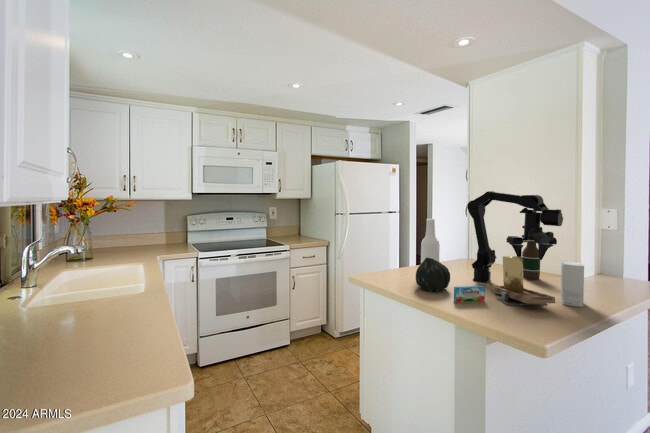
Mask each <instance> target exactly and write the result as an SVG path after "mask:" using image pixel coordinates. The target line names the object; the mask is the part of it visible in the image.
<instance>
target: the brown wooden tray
mask: <svg viewBox="0 0 650 433" xmlns="http://www.w3.org/2000/svg"><path fill="white" fill-rule="evenodd" d="M491 287H492V292H494V293H496V294H499V295H502V292H506V293H508V297H510V298H513V299H515V300H518V301H521V302H524V303H526V304H544V303H547V304H556V297H555V296H553V295H550V294H546V293H542V292H539V291H535V290H532V289H528V288H525V287H524V292H523V293H515V292H512V291H509V290H505V289H504V285H492V286H491Z"/></svg>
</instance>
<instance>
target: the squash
mask: <svg viewBox="0 0 650 433" xmlns="http://www.w3.org/2000/svg"><path fill="white" fill-rule="evenodd" d="M450 281H451V273H450V270H449V269H448V267H447V266H446V265H444V264H443V263H442V262H440V261H439V262H438V261H436V260H434V259H432V258H426V259H425V260H424V261H423V262H422V264H421V263H420V265H418V267H417V269H416V272H415V282H416V284H417V286H418V287H420V289H422V290H425V291H429V292H434V291H435V292H437V293H439V292H441V291H442V290H444V289H447V288H448V287H449V284H450V283H451V282H450Z"/></svg>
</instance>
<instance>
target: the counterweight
mask: <svg viewBox="0 0 650 433" xmlns="http://www.w3.org/2000/svg"><path fill="white" fill-rule="evenodd" d="M502 271H503V272H502V273H503V274H502V275H503V286H504V289H505V290H509V291H512V292H515V293H523V292H524V288H525V287H524V278H523V257H522V256H521V257H520V256H517V255H516V256H515V255H504V256H502Z"/></svg>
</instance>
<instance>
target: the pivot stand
mask: <svg viewBox="0 0 650 433" xmlns="http://www.w3.org/2000/svg"><path fill="white" fill-rule="evenodd" d="M495 299H496V300H498V301H499V302H501V303H503V304H504V305H506V306H547V305H548V303H544V304H526V303H524V302H521V301H518V300H515V299H513V298H510V297H508V293H506V292H502V294H501V296H496V298H495Z"/></svg>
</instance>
